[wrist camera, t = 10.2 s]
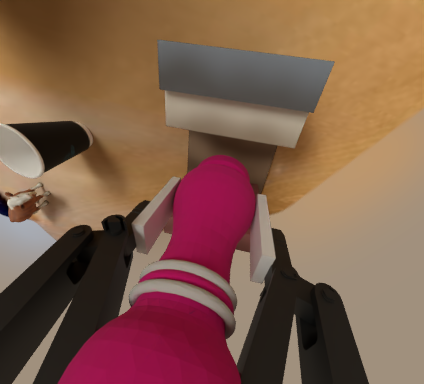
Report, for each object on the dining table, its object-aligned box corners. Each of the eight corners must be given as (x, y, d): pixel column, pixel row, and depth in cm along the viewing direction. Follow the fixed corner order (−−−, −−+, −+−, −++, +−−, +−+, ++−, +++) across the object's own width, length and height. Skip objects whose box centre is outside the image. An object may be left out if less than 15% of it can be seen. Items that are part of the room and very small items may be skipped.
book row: (194, 62, 23) (140, 36, 11) (298, 76, 21) (355, 62, 10) (188, 181, 33) (157, 230, 22) (258, 195, 32) (264, 255, 20)
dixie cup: (103, 159, 34) (50, 184, 25) (68, 149, 35) (2, 170, 25) (96, 118, 30) (28, 131, 21) (56, 107, 30) (-28, 116, 21)
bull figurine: (59, 185, 41) (21, 205, 34) (46, 210, 47) (12, 230, 41) (42, 173, 40) (-1, 190, 33) (31, 200, 46) (-7, 219, 39)
